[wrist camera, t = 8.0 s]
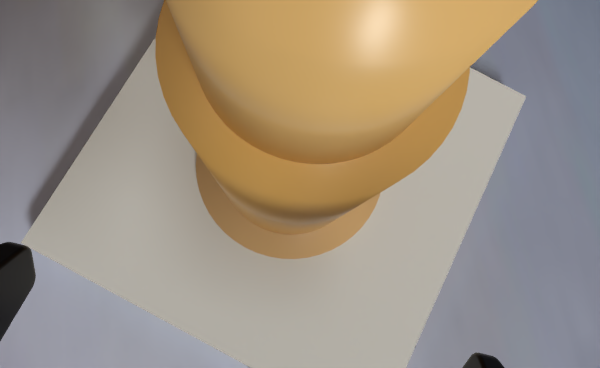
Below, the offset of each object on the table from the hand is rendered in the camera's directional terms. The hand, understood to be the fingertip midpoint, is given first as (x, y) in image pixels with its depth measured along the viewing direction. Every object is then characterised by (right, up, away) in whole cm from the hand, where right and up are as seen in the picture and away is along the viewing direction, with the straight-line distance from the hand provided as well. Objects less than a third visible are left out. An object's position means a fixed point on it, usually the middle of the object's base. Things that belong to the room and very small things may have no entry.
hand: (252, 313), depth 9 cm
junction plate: (+1, +3, +9) cm, 9 cm away
